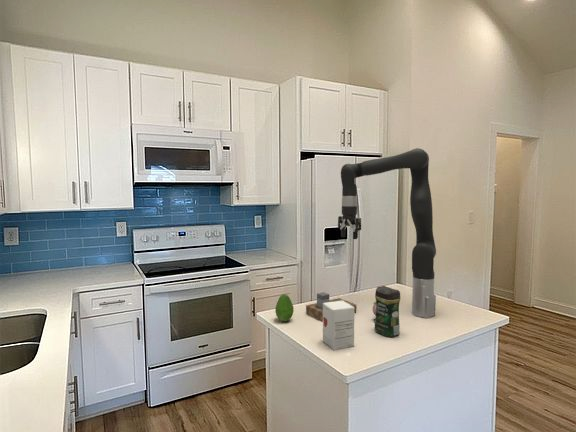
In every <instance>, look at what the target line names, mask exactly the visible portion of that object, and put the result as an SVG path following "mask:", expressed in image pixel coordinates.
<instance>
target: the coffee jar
mask: <svg viewBox="0 0 576 432" xmlns="http://www.w3.org/2000/svg"><path fill="white" fill-rule="evenodd" d="M374 297H375V301H376V316H375V317H374V319H375V321H374V330H375V332H377V333H378V334H380V335H383V336H385V337H387V338H388V337H391V338H392V337H393V338H394V337H397V336H398V335H399V334H400V332H401V331H400V329H401V328H400V310H399V309H400V302H401V292H400V290H398V289H395V288H392V287H388V286H386V285H381V286H377V287H376V288H375V294H374Z"/></svg>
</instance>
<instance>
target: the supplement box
mask: <svg viewBox="0 0 576 432" xmlns="http://www.w3.org/2000/svg"><path fill="white" fill-rule="evenodd" d="M343 300H344V299H343ZM343 300H342V301H335V302H326V303H323V322H322V342H324V343H325V344H326V345H327V346H328V347H329V348H331V349H332V350H333V351H335V350H336V351H337V350H342V349H345V348H351V347H354V346H355V314H354V309H355V308H354V307H353V306H351V305H350V304H348V303H346V302H344V301H343Z"/></svg>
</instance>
